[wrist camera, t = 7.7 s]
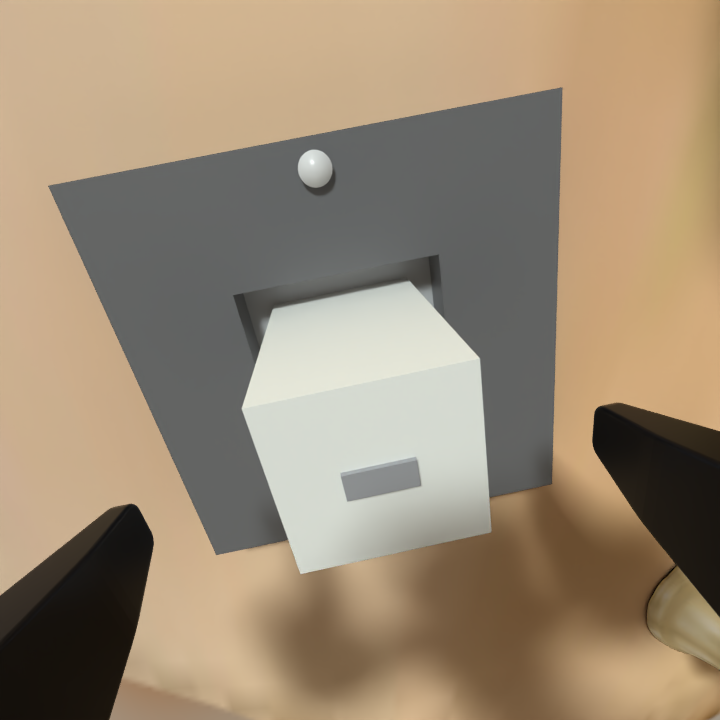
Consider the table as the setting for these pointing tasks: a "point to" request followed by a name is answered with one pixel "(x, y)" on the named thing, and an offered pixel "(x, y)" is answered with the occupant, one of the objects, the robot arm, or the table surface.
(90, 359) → the table surface
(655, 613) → the hand bell
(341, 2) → the table surface
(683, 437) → the robot arm
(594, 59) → the table surface
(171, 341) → the outlet plate
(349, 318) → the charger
